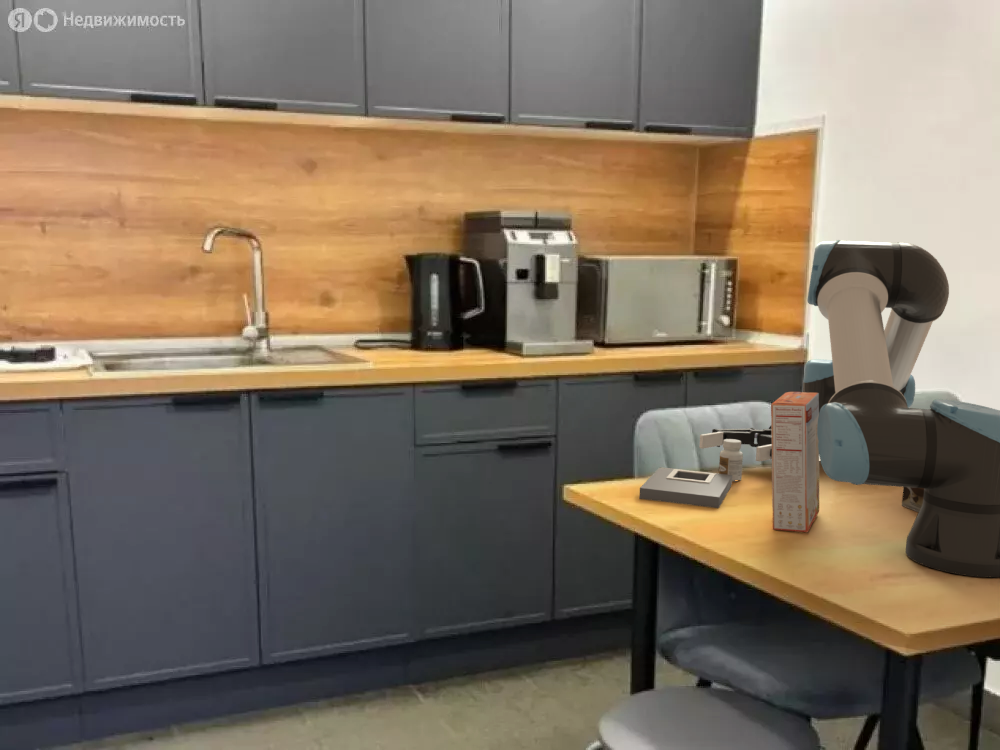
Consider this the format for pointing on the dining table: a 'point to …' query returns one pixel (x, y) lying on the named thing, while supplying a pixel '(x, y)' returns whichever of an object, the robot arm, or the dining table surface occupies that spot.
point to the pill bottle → (731, 459)
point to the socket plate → (686, 487)
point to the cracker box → (795, 461)
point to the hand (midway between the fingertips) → (728, 447)
